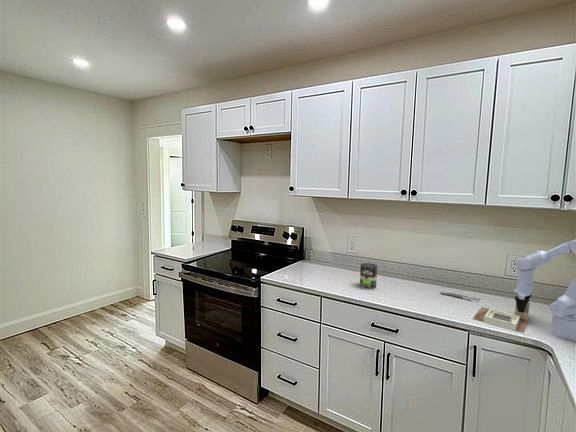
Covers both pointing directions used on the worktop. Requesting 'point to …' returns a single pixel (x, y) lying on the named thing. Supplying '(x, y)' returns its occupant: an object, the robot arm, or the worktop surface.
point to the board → (480, 317)
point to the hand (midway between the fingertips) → (521, 309)
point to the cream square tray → (502, 319)
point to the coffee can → (368, 276)
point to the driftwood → (459, 296)
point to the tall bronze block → (523, 315)
